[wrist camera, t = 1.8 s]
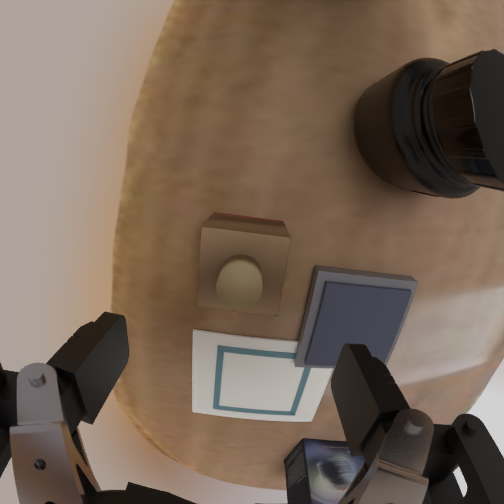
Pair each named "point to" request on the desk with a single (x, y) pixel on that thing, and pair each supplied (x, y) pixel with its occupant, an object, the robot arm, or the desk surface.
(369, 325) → the ink pad
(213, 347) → the sheet
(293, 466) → the small box
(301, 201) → the desk surface
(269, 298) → the stamp
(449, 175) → the ink bottle
